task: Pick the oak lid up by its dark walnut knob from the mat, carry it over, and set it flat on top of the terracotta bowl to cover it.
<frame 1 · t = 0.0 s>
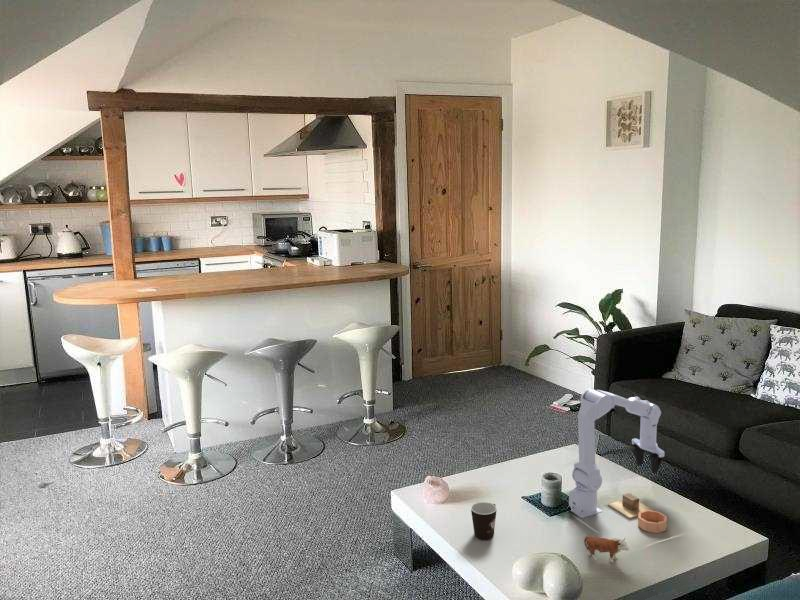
hand: (647, 468, 252), 10 cm above the table, tool pointing down, fingers open, 7 cm apart
bull figurine: (606, 560, 211), on the table
terracotta bowl: (652, 527, 230), on the table
oak lid: (630, 508, 242), resting on mat
coffee mug: (487, 534, 229), on the table
mat: (630, 509, 242), on the table
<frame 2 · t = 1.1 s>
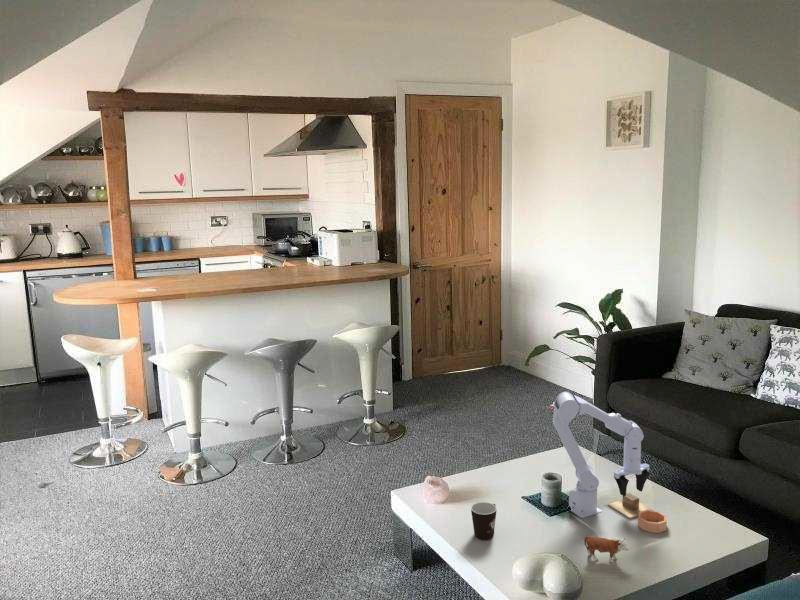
hand: (631, 492, 240), 7 cm above the table, tool pointing down, fingers open, 7 cm apart
nothing on the table moved.
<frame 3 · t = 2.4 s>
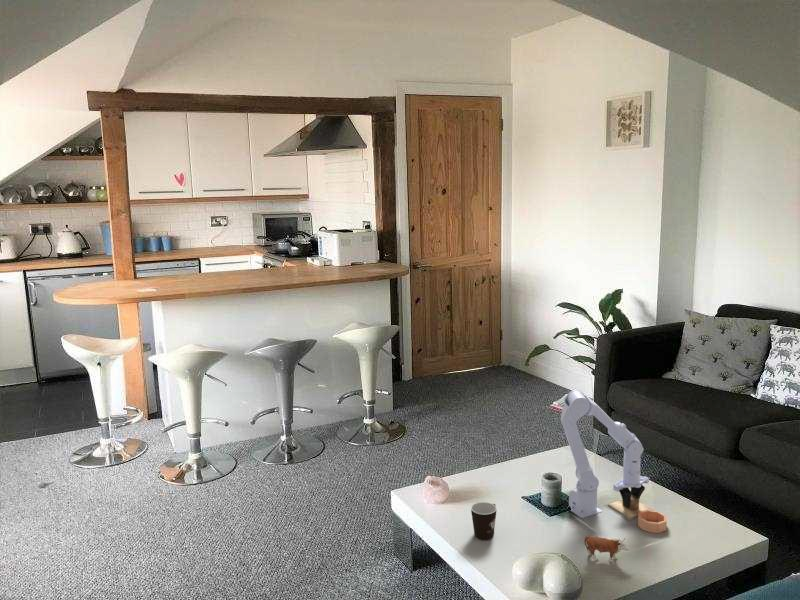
hand: (630, 505, 241), 2 cm above the table, tool pointing down, fingers closed on oak lid, 3 cm apart
oak lid: (630, 508, 242), resting on mat, touching gripper
everything else where it was.
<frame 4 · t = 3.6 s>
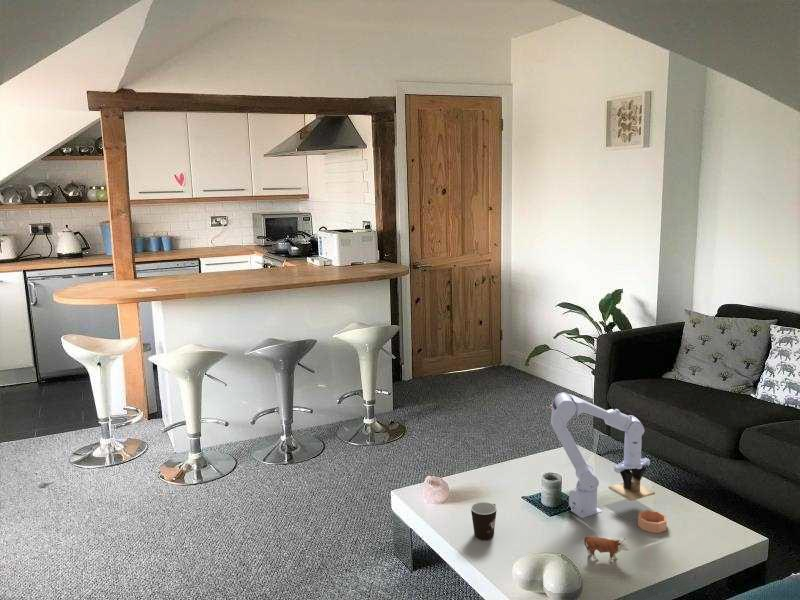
hand: (631, 487, 240), 9 cm above the table, tool pointing down, fingers closed on oak lid, 3 cm apart
oak lid: (631, 491, 240), point 7 cm above the table, touching gripper
everything else where it was.
when the fingers open (6 cm above the table, at t = 5.2 s): oak lid stays where it is, resting on terracotta bowl.
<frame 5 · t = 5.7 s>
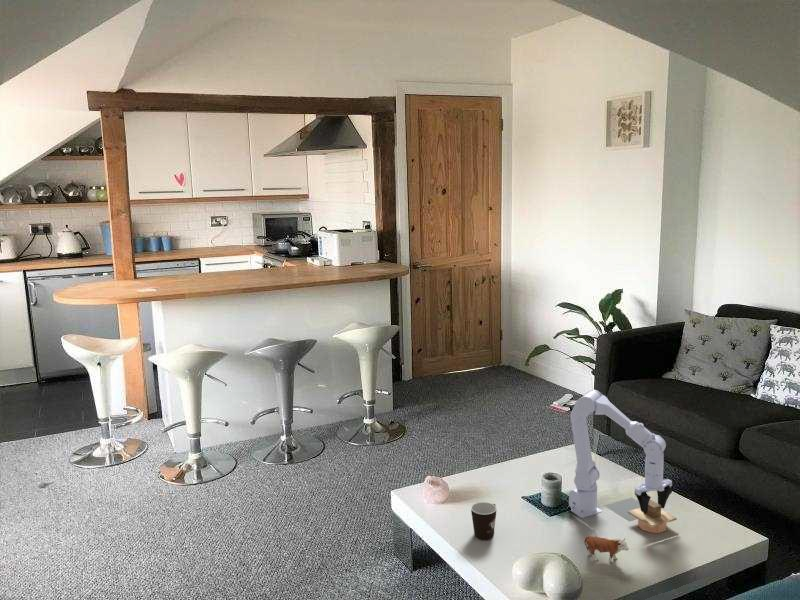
hand: (652, 509, 228), 6 cm above the table, tool pointing down, fingers open, 7 cm apart
terracotta bowl: (652, 527, 230), on the table, touching oak lid
oak lid: (651, 516, 229), point 4 cm above the table, touching terracotta bowl
everything else where it was.
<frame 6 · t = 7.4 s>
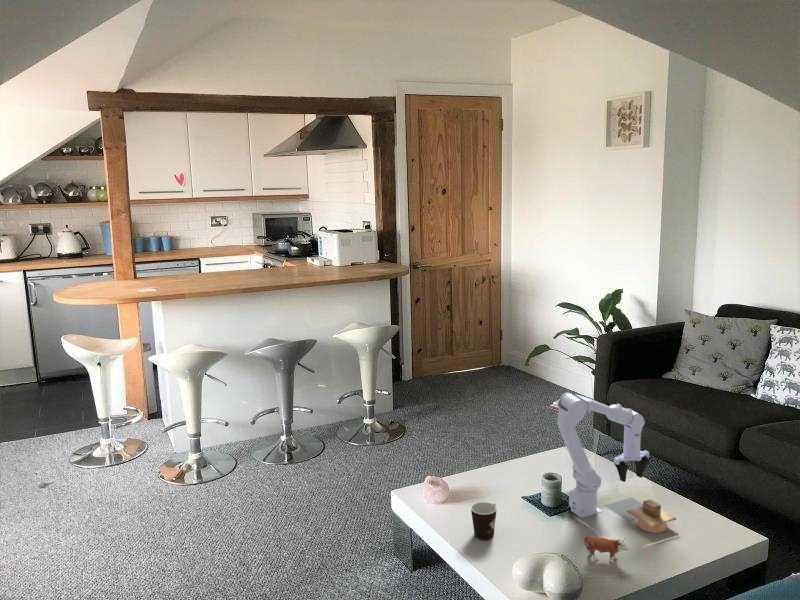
hand: (631, 478, 245), 9 cm above the table, tool pointing down, fingers open, 7 cm apart
nothing on the table moved.
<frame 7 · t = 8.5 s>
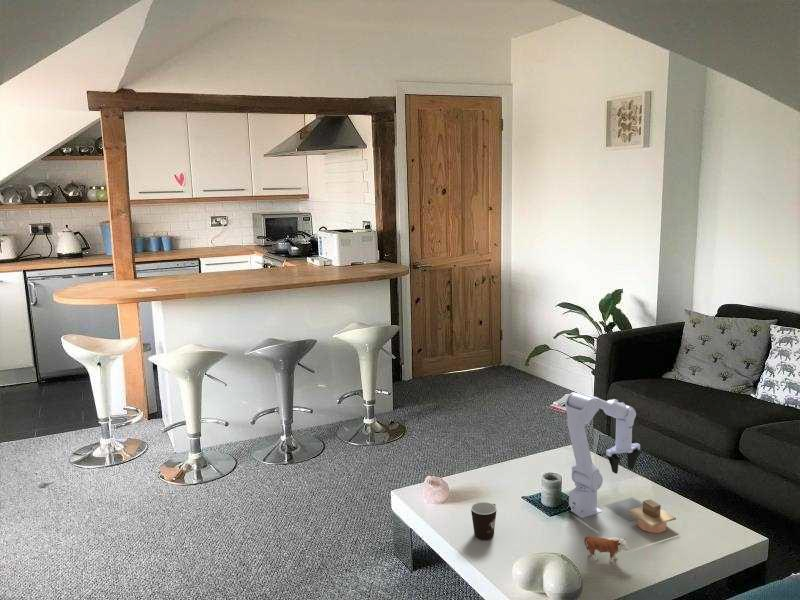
hand: (622, 470, 252), 9 cm above the table, tool pointing down, fingers open, 7 cm apart
nothing on the table moved.
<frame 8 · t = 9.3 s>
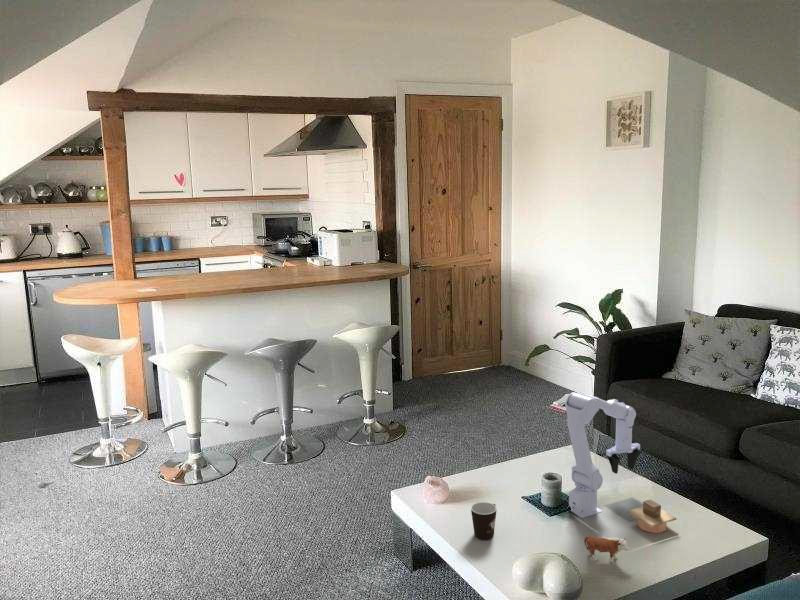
hand: (622, 470, 252), 9 cm above the table, tool pointing down, fingers open, 7 cm apart
nothing on the table moved.
at the end: oak lid 0.4 cm off-centre on the terracotta bowl, point 4.0 cm above the terracotta bowl's base; oak lid tilted 0°; the gripper is holding nothing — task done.
